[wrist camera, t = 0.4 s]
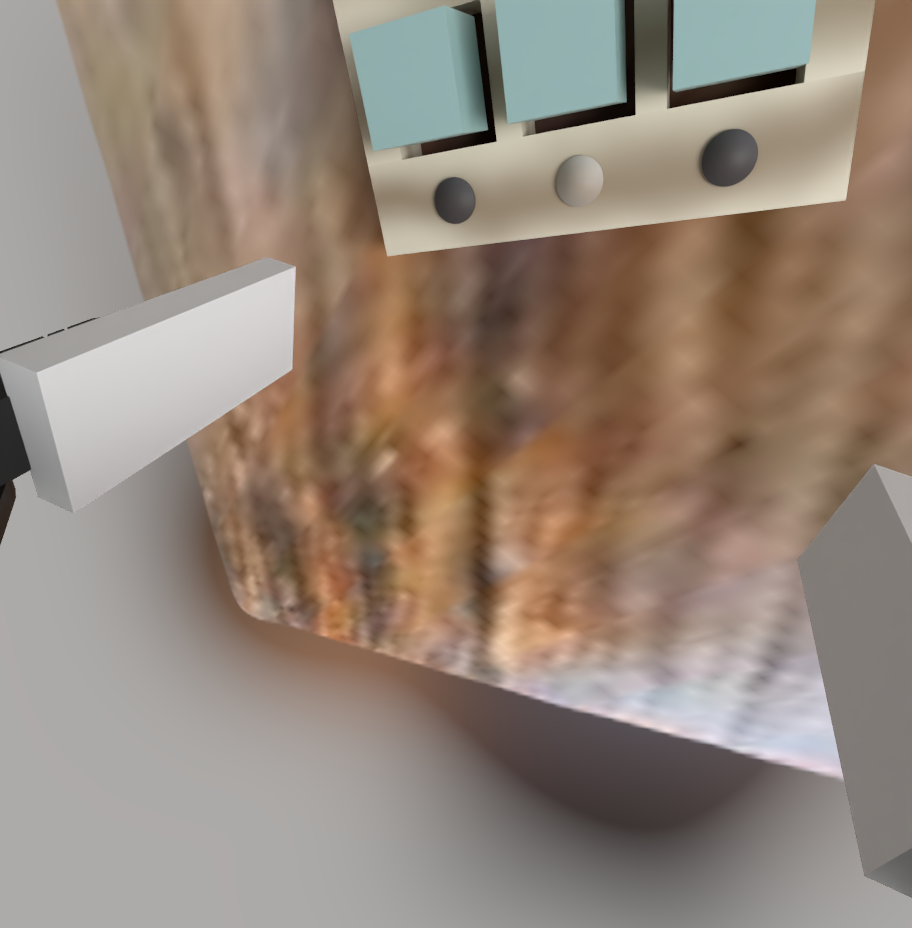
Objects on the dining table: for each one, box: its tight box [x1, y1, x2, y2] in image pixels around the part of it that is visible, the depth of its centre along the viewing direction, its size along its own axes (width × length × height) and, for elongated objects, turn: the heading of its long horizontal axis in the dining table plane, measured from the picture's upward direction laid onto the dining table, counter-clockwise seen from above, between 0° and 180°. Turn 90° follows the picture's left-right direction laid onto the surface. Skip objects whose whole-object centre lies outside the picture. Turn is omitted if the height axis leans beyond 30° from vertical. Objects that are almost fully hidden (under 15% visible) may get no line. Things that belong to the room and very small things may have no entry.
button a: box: [349, 5, 488, 151], centre depth 28 cm, size 5×5×4 cm
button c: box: [673, 0, 816, 92], centre depth 23 cm, size 5×5×4 cm
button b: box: [495, 0, 627, 124], centre depth 25 cm, size 5×5×4 cm
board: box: [333, 0, 875, 256], centre depth 28 cm, size 16×24×3 cm, turn 99°
